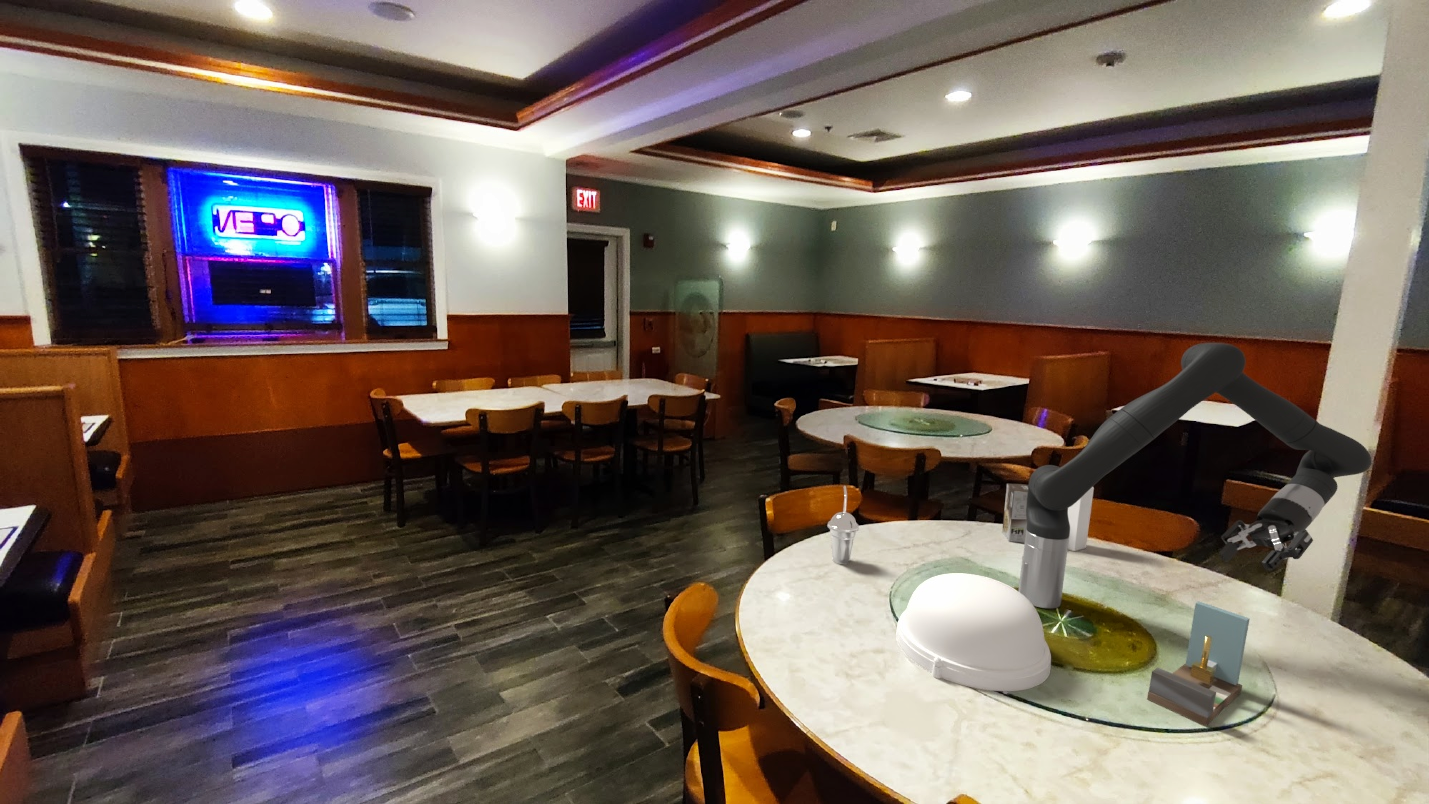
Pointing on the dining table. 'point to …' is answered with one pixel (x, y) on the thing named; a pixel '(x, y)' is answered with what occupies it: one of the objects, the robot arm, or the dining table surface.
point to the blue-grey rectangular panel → (1218, 640)
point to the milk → (1080, 521)
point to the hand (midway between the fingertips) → (1243, 562)
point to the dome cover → (975, 633)
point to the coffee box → (1015, 512)
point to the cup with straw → (842, 534)
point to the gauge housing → (1191, 694)
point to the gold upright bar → (1203, 664)
